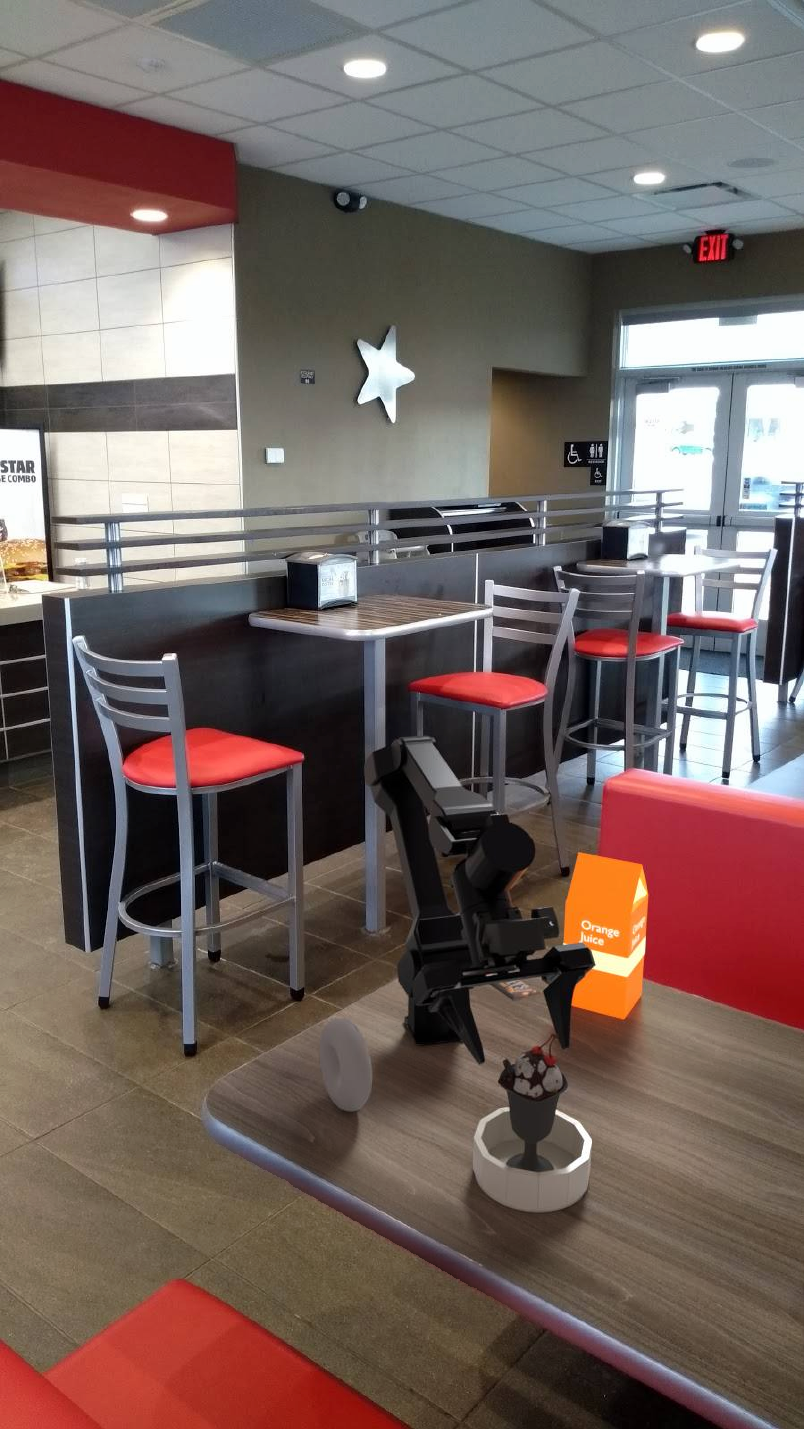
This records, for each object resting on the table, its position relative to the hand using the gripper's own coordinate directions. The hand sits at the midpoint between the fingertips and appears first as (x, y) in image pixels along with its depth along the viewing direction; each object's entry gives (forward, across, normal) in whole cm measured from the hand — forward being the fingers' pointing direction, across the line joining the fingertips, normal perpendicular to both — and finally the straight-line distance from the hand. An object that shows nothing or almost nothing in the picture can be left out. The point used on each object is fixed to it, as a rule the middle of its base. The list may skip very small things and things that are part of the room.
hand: (524, 1056), depth 108 cm
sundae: (+10, 0, +6) cm, 12 cm away
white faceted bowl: (+10, 0, +6) cm, 12 cm away
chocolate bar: (-16, +14, +34) cm, 40 cm away
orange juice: (-11, +24, +28) cm, 39 cm away
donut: (-2, -15, +19) cm, 24 cm away
